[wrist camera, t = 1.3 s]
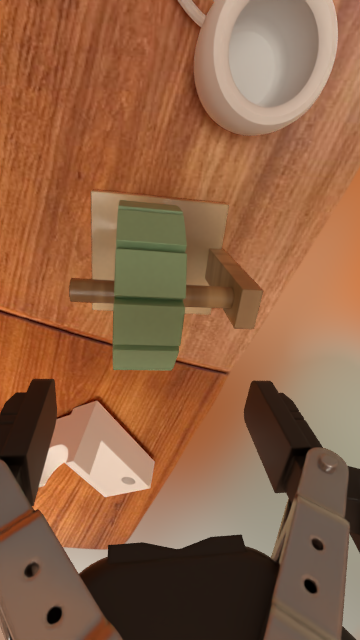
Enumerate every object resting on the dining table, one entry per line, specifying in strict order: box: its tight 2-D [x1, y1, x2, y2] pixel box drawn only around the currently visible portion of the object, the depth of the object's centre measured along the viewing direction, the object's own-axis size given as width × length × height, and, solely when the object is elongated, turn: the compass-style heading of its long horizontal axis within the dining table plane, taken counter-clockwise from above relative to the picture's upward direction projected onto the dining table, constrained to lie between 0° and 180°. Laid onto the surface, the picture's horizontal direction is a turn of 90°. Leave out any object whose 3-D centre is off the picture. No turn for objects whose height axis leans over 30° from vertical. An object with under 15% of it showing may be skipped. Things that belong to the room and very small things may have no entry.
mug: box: [178, 0, 338, 136], centre depth 21 cm, size 12×8×8 cm
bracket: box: [39, 401, 155, 497], centre depth 38 cm, size 13×7×8 cm, turn 29°
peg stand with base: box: [69, 189, 263, 329], centre depth 26 cm, size 13×11×12 cm
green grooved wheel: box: [113, 200, 187, 370], centre depth 24 cm, size 4×12×12 cm, turn 174°
